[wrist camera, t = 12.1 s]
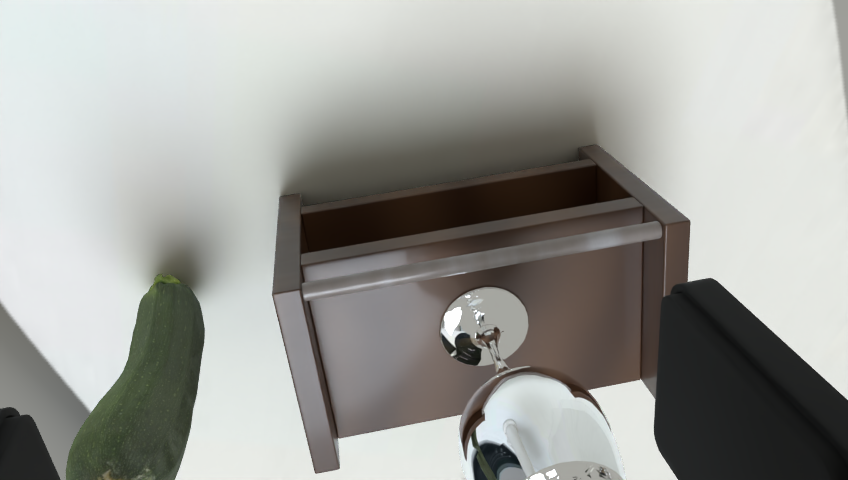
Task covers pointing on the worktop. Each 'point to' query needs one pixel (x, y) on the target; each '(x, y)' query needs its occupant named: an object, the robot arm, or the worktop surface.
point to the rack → (461, 272)
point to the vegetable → (147, 394)
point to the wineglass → (522, 402)
